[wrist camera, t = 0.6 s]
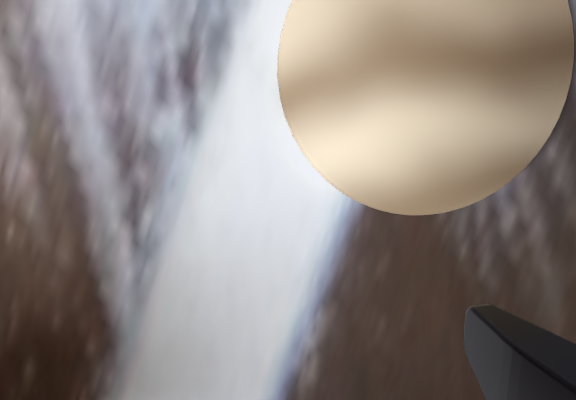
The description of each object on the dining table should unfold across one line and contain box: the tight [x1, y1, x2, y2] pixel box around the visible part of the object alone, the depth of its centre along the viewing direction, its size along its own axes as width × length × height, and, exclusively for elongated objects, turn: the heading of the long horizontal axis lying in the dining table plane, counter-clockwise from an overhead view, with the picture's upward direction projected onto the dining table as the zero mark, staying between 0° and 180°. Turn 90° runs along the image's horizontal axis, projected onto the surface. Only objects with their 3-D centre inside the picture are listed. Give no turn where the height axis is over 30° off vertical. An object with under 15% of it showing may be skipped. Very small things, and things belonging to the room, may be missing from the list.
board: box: [278, 0, 574, 215], centre depth 21 cm, size 14×14×1 cm
